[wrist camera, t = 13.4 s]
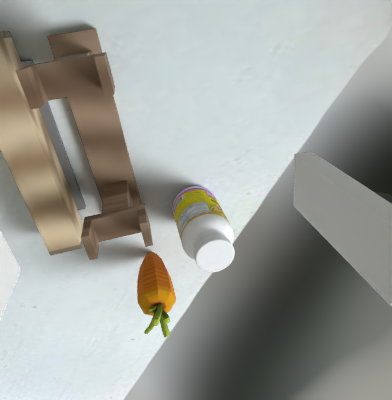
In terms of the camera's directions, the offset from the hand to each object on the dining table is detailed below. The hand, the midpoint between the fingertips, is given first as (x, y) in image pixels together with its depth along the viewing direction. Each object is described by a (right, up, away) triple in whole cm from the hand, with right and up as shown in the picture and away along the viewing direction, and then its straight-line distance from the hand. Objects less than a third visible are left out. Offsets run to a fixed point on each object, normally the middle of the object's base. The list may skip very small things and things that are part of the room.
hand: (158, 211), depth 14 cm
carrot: (-6, -8, +36) cm, 38 cm away
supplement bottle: (+1, 0, +34) cm, 34 cm away
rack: (-10, +9, +26) cm, 29 cm away
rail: (-18, +7, +25) cm, 31 cm away
